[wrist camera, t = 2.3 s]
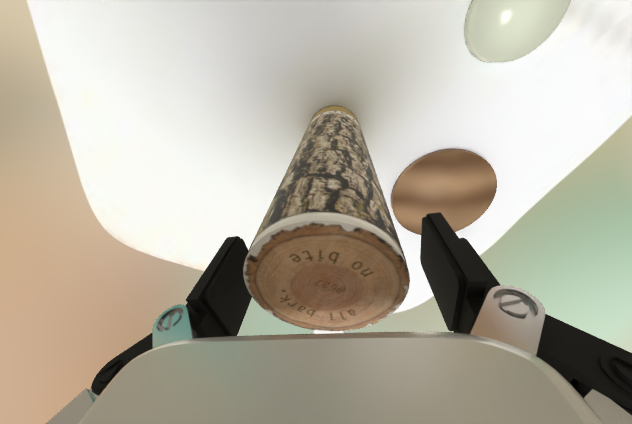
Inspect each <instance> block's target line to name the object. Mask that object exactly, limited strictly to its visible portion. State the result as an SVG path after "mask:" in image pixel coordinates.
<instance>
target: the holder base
mask: <svg viewBox="0 0 632 424" xmlns="http://www.w3.org/2000/svg"><path fill="white" fill-rule="evenodd" d="M496 188H497V179H496V175H495V172H494V170H493V168H492V167H491V165H490V164H489V163H488V162H487V161H486V160H484V159H483V158H481V157H480V156H478V155H477V154H475V153H472V152H470V151H466V150H461V149H445V150H440V151H436V152H433V153H430V154H427V155H425V156H423V157H421V158H419V159H418V160H416V161H415V162H413V163H412V164H411V165H409V166H408V167H407V168H406V169H405V170H404V171H403V172H402V174H401V175H400V176H399V178H398V179H397V181H396V183H395V185H394V187H393V190H392V195H391V205H392V209H393V212H394V215H395V217H396V219H397V220H398V222H399V223H400V224H401V225H402V226H403V227H404V228H406V229H407V230H409V231H411V232H413V233H416V234H419V235H421V232H422V218H423V217H426V215H427V214H429V213H437V212H441V214H442V215H443V216H444V218H445V219H446V221H447V222H448V224H449V225H450V226H451V228H452V229H453V231H454V232H456V231H458V230H461V229H463V228H465V227H467V226H469V225H470V224H472V223H473V222H474V221H476V220H477V219H478V218H479V217H480V216H481V215H482V214H483V213H484V212H485V211H486V210H487V209H488V207H489V206H490V204H491V203H492V201H493V199H494V196H495V193H496Z"/></svg>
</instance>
